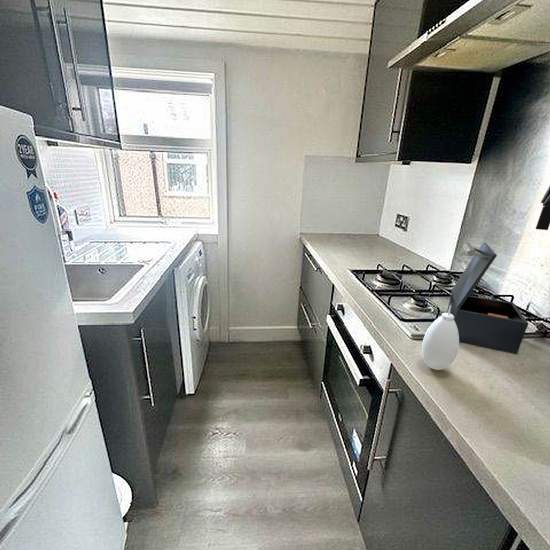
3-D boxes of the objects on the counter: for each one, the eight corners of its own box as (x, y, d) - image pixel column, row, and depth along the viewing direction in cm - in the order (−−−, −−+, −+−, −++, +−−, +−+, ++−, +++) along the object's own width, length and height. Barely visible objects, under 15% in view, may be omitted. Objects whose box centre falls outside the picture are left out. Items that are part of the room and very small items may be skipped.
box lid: (486, 243, 90) (466, 235, 92) (497, 255, 78) (474, 246, 80) (453, 291, 98) (435, 284, 100) (459, 309, 86) (438, 300, 88)
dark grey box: (504, 330, 96) (513, 302, 92) (516, 354, 84) (528, 323, 81) (444, 319, 102) (451, 292, 98) (449, 339, 90) (457, 310, 87)
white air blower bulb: (447, 361, 80) (465, 300, 74) (454, 380, 73) (474, 315, 67) (415, 355, 82) (430, 295, 76) (419, 373, 75) (435, 309, 69)
